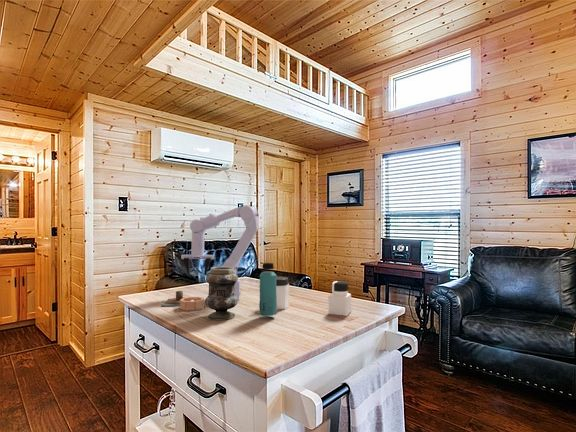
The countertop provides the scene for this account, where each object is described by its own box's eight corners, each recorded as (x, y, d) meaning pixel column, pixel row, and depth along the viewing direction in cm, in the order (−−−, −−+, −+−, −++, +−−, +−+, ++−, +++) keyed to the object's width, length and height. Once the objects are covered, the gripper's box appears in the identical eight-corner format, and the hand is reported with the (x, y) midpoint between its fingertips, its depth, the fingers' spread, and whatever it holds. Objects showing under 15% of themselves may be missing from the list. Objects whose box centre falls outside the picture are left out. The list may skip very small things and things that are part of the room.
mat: (195, 299, 149) (195, 298, 149) (190, 306, 137) (190, 304, 137) (168, 300, 147) (168, 298, 148) (161, 306, 136) (161, 305, 136)
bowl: (205, 304, 139) (205, 296, 139) (202, 310, 130) (202, 301, 130) (182, 305, 138) (182, 296, 138) (177, 311, 129) (178, 302, 129)
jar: (293, 307, 135) (293, 278, 135) (277, 310, 130) (277, 280, 130) (279, 303, 142) (279, 275, 142) (264, 306, 137) (264, 277, 137)
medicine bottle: (351, 311, 129) (351, 280, 129) (346, 316, 123) (346, 283, 123) (333, 309, 132) (333, 279, 132) (328, 314, 126) (328, 282, 126)
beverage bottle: (279, 316, 122) (279, 262, 123) (272, 321, 116) (273, 264, 117) (263, 314, 125) (263, 261, 125) (256, 319, 118) (256, 263, 119)
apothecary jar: (244, 315, 124) (244, 266, 124) (223, 323, 113) (223, 270, 114) (219, 310, 130) (220, 264, 130) (197, 318, 119) (198, 268, 120)
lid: (192, 298, 147) (192, 289, 148) (189, 304, 138) (189, 293, 138) (169, 299, 146) (169, 289, 146) (165, 304, 136) (165, 294, 137)
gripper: (180, 245, 150) (179, 276, 149) (212, 246, 151) (211, 276, 151) (183, 244, 157) (182, 273, 156) (214, 245, 158) (213, 273, 158)
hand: (197, 274), depth 154 cm, fingers open, 7 cm apart
